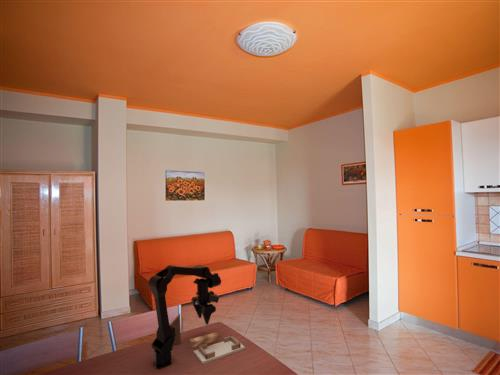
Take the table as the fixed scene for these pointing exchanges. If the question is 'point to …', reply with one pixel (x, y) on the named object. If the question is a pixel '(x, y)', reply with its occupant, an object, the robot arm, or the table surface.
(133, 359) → the table surface
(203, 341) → the slat
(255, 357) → the table surface
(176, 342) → the wooden block
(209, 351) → the slat board
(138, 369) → the table surface
